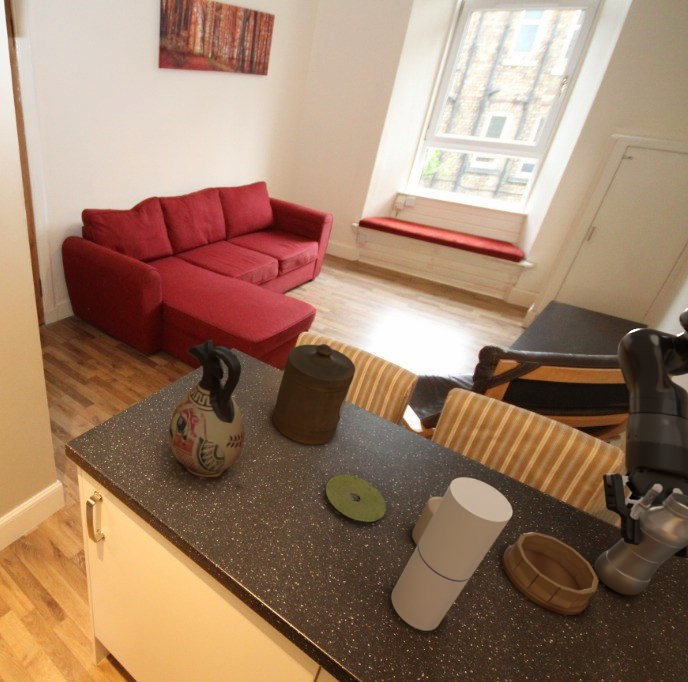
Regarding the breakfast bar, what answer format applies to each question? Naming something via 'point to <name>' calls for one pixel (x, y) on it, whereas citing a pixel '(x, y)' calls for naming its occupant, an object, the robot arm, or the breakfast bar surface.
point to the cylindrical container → (450, 551)
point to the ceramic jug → (209, 416)
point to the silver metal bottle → (646, 547)
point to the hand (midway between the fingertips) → (656, 550)
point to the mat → (355, 498)
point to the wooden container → (312, 393)
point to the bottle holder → (550, 573)
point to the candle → (425, 518)
